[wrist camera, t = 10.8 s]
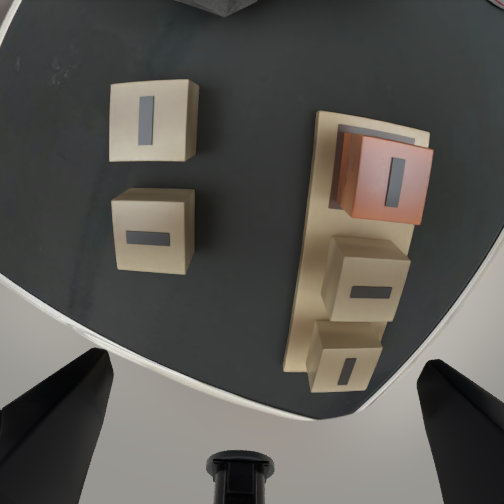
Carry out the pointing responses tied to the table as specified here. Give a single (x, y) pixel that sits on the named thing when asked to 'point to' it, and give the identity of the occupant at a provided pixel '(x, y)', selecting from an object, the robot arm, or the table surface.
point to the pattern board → (335, 223)
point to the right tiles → (354, 311)
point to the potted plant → (219, 5)
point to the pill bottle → (498, 3)
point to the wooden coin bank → (383, 179)
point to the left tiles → (154, 149)
